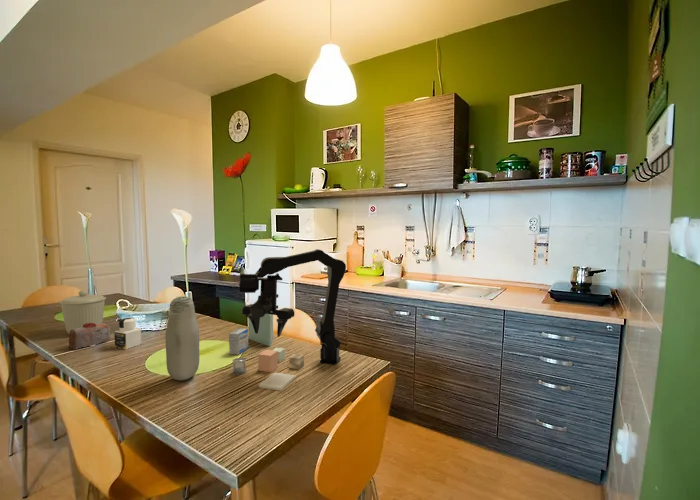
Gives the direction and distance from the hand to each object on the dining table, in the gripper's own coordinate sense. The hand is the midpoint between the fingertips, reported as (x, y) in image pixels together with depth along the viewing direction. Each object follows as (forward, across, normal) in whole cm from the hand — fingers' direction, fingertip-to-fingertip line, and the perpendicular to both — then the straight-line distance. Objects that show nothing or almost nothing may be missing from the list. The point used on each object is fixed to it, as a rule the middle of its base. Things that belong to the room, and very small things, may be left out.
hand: (267, 334), depth 123 cm
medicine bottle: (+14, -70, +2) cm, 72 cm away
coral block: (+12, +1, 0) cm, 13 cm away
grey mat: (+12, +10, -9) cm, 18 cm away
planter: (+13, -18, +28) cm, 35 cm away
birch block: (+12, +10, +5) cm, 16 cm away
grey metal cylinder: (+13, -7, -6) cm, 16 cm away
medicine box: (+13, -21, +12) cm, 27 cm away
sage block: (+12, -1, +9) cm, 15 cm away
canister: (+15, -109, +9) cm, 110 cm away
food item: (+15, -88, -3) cm, 89 cm away
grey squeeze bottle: (+14, -22, -16) cm, 31 cm away
